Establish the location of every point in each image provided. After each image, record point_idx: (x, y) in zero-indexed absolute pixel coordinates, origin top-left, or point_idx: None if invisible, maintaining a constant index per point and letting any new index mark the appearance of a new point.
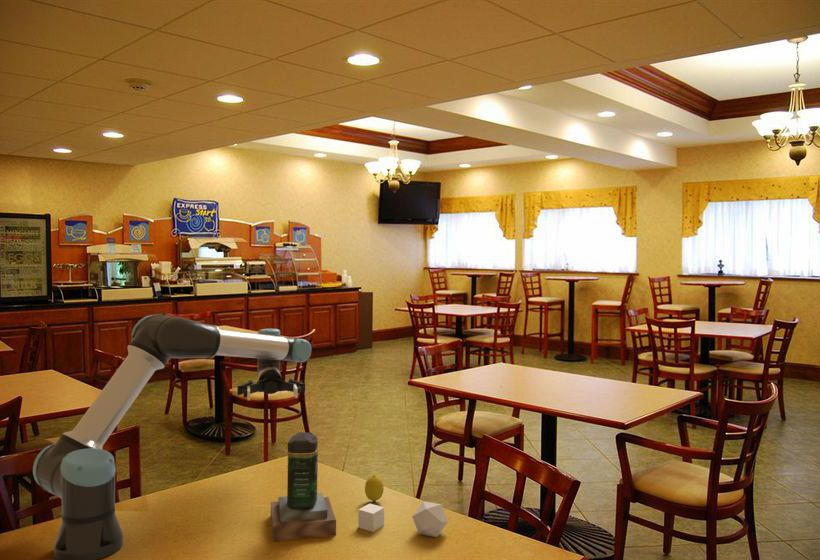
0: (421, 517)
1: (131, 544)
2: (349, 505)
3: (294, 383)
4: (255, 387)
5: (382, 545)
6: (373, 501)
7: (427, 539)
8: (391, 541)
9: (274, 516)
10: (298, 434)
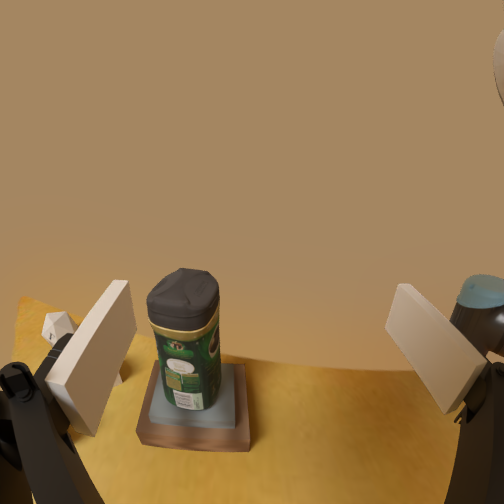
0: (72, 321)
1: (417, 385)
2: (100, 447)
3: (22, 445)
4: (474, 465)
5: None
6: None
7: None
8: None
9: (242, 388)
10: (189, 292)
